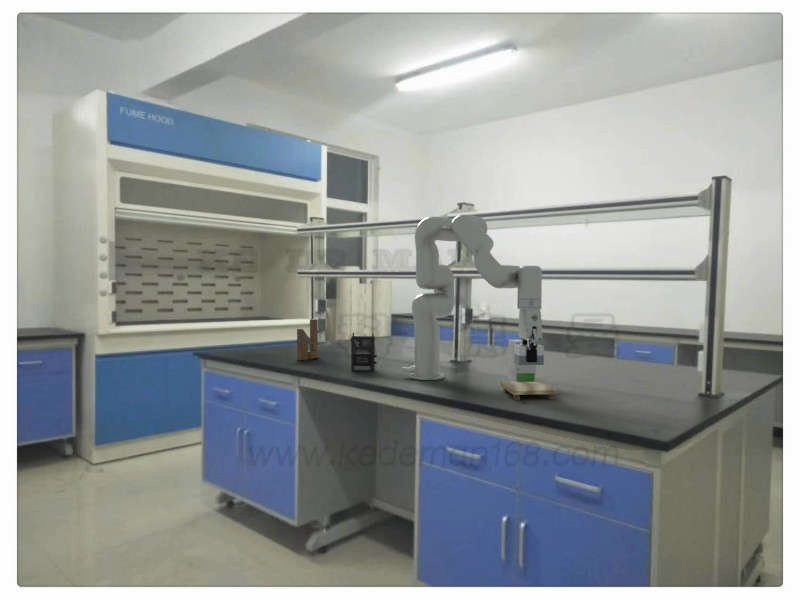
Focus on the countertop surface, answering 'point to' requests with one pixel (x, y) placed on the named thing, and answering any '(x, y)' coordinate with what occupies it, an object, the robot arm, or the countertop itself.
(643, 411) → the countertop surface
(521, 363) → the housing
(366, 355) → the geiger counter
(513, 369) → the skincare box
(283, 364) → the countertop surface
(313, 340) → the wooden block
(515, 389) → the beech stand
